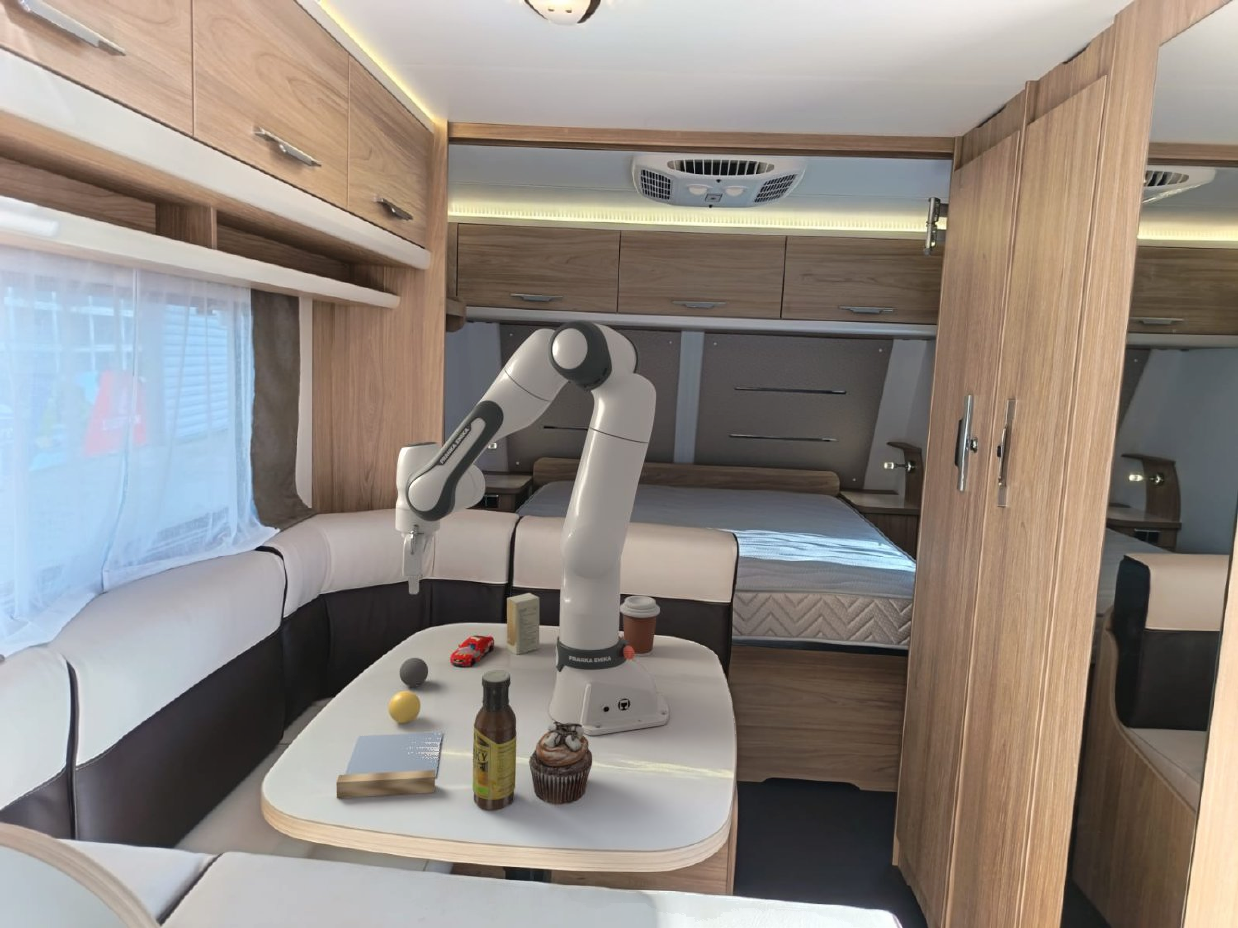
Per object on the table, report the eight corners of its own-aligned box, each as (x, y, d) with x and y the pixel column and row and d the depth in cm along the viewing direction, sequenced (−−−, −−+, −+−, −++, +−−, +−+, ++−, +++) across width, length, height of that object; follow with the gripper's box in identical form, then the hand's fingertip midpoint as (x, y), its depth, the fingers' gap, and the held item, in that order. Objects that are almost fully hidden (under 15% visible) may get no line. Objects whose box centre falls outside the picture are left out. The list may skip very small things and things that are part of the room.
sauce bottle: (468, 793, 113) (469, 668, 110) (508, 785, 116) (510, 662, 113) (478, 817, 108) (479, 685, 105) (520, 808, 110) (522, 679, 107)
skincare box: (529, 643, 173) (530, 591, 171) (540, 649, 170) (541, 596, 168) (505, 649, 169) (506, 596, 167) (515, 655, 166) (516, 602, 164)
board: (442, 733, 131) (442, 732, 131) (435, 777, 117) (435, 776, 117) (359, 737, 128) (358, 735, 128) (342, 782, 115) (342, 781, 115)
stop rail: (434, 784, 115) (434, 769, 115) (433, 792, 113) (433, 777, 113) (339, 790, 113) (339, 774, 113) (336, 797, 111) (336, 782, 111)
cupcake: (529, 772, 120) (531, 713, 118) (590, 772, 120) (592, 713, 119) (526, 808, 110) (527, 744, 109) (592, 807, 111) (594, 744, 109)
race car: (467, 671, 158) (467, 653, 157) (445, 666, 159) (445, 648, 159) (498, 648, 170) (498, 631, 169) (477, 644, 172) (477, 628, 171)
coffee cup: (615, 644, 174) (616, 594, 172) (653, 642, 176) (655, 593, 174) (622, 659, 165) (624, 607, 164) (662, 658, 167) (664, 606, 165)
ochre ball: (422, 713, 138) (421, 685, 137) (418, 728, 132) (418, 698, 131) (391, 714, 137) (390, 686, 136) (386, 729, 131) (386, 699, 131)
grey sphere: (429, 678, 152) (429, 652, 152) (426, 690, 147) (426, 663, 146) (401, 679, 151) (401, 653, 151) (397, 691, 146) (397, 664, 145)
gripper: (429, 532, 143) (427, 602, 145) (437, 510, 163) (435, 571, 165) (395, 532, 142) (393, 602, 144) (407, 509, 162) (406, 571, 164)
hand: (416, 585), depth 155 cm, fingers open, 8 cm apart
